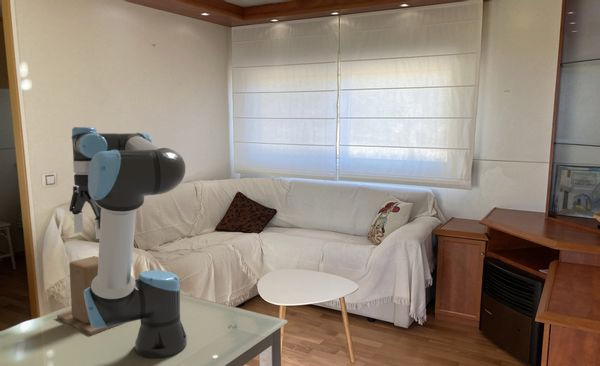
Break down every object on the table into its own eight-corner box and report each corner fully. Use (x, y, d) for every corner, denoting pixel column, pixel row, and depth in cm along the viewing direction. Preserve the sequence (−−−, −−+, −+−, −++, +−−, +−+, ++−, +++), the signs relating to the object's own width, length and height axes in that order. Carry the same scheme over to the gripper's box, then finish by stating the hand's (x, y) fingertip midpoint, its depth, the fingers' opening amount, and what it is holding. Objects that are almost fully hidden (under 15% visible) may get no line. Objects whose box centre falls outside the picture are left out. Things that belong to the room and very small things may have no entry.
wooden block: (86, 325, 153) (83, 267, 150) (70, 317, 159) (67, 261, 156) (113, 315, 161) (111, 260, 158) (97, 308, 167) (95, 255, 164)
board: (129, 320, 159) (129, 317, 159) (91, 335, 148) (91, 331, 148) (95, 306, 172) (94, 302, 172) (57, 318, 161) (57, 314, 161)
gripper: (117, 174, 150) (120, 238, 152) (77, 170, 164) (80, 228, 167) (96, 176, 144) (99, 242, 146) (56, 171, 158) (59, 232, 161)
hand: (89, 235), depth 156 cm, fingers open, 13 cm apart
